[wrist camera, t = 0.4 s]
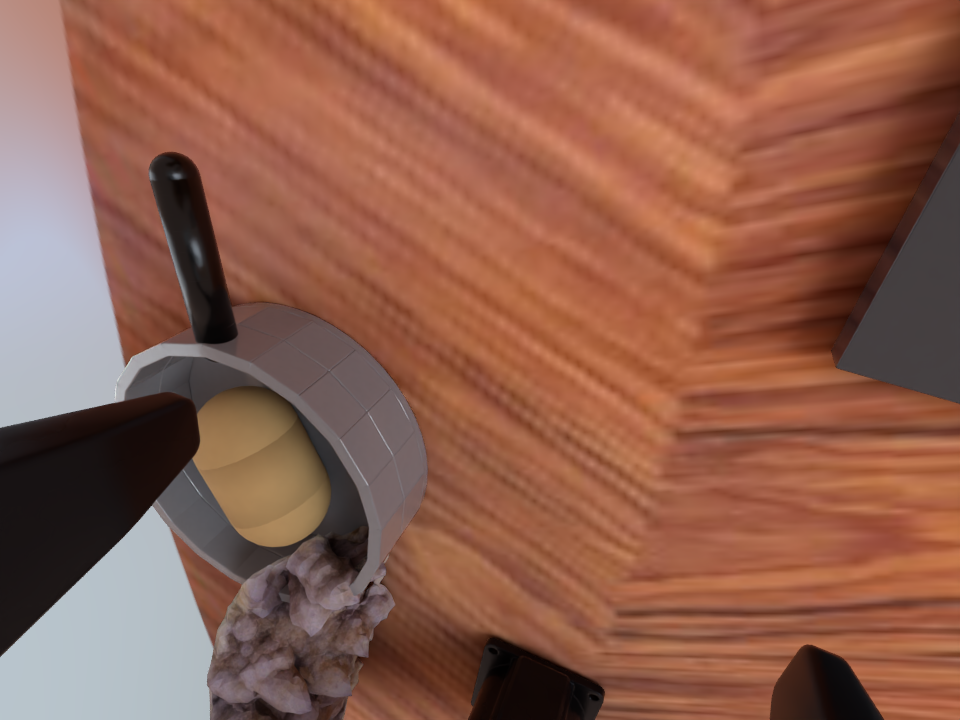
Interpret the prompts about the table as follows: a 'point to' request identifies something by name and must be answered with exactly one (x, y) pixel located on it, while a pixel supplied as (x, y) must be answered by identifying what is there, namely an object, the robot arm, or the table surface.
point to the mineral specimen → (297, 635)
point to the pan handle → (193, 247)
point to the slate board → (914, 292)
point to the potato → (262, 466)
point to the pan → (325, 416)
